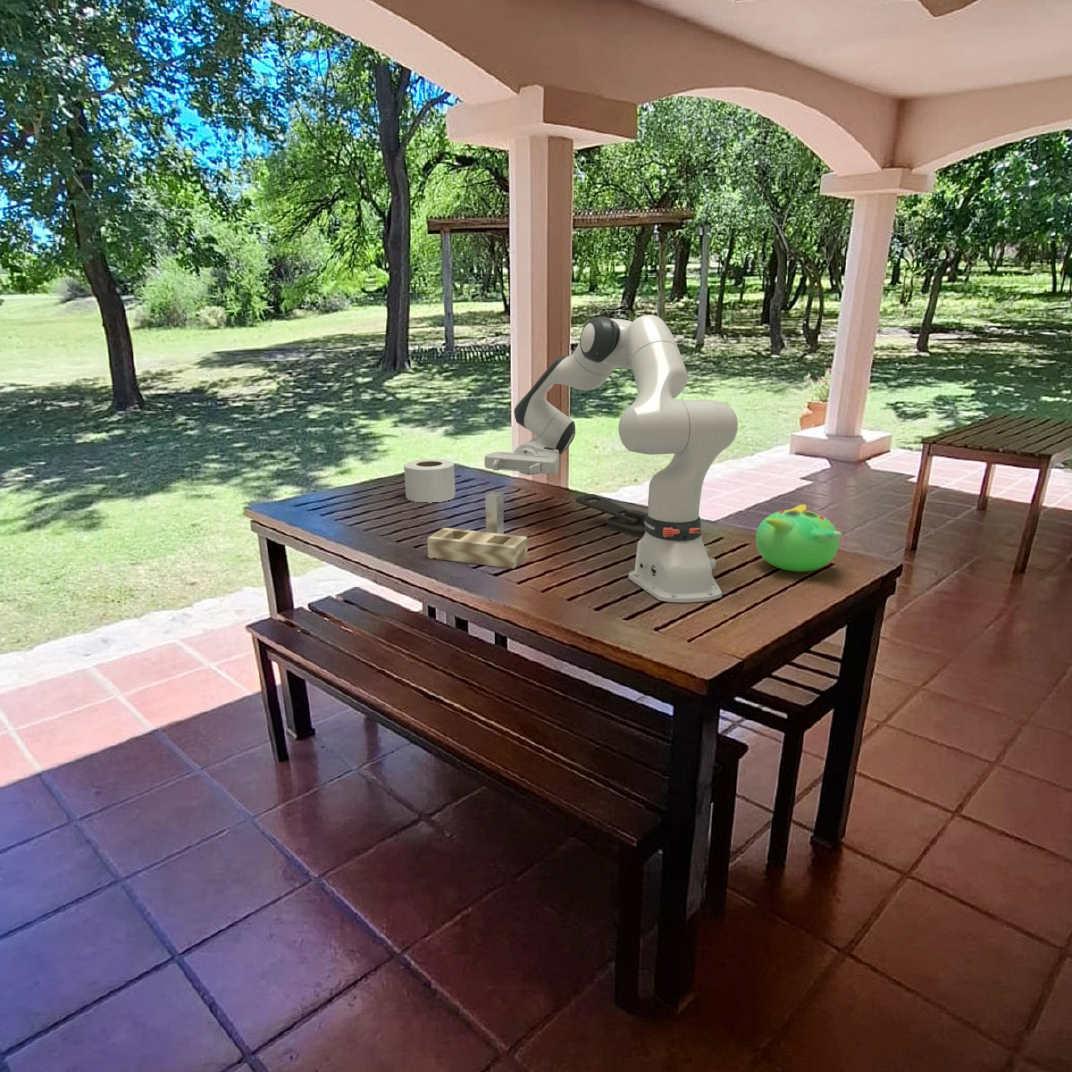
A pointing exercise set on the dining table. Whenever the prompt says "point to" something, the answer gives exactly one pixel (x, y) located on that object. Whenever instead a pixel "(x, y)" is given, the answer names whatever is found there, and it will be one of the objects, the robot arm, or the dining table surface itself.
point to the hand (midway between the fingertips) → (511, 468)
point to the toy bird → (797, 540)
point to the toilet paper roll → (429, 480)
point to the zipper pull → (617, 515)
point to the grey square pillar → (494, 512)
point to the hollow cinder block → (477, 547)
